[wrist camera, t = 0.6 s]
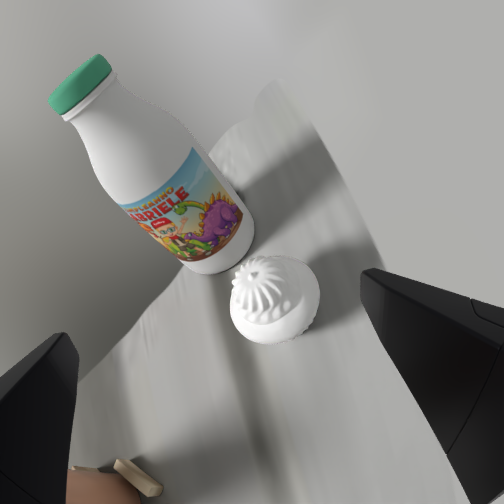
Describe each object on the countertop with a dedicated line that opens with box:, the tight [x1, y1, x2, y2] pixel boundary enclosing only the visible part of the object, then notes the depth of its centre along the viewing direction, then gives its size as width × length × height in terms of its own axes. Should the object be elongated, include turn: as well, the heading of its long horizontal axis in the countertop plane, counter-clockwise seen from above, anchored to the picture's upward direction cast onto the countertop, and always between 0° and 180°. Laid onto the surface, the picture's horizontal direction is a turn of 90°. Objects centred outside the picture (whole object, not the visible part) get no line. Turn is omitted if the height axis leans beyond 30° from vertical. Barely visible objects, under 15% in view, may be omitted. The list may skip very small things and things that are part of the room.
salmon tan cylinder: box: [66, 469, 141, 504], centre depth 15 cm, size 6×6×13 cm
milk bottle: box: [48, 54, 254, 274], centre depth 23 cm, size 8×8×20 cm
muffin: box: [230, 256, 320, 344], centre depth 21 cm, size 6×6×7 cm
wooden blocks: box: [71, 459, 163, 497], centre depth 19 cm, size 8×9×3 cm
